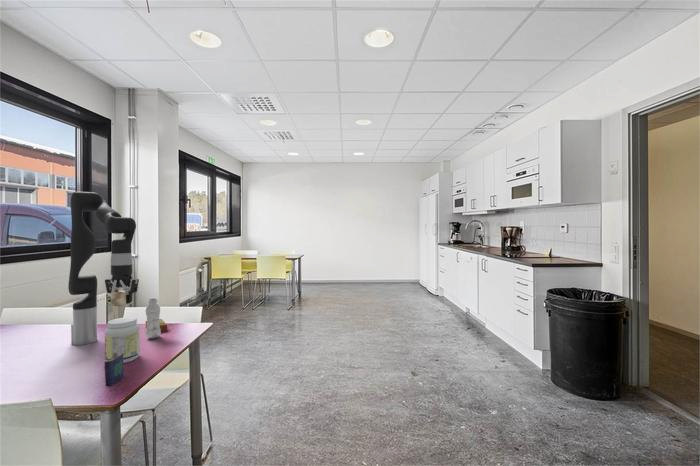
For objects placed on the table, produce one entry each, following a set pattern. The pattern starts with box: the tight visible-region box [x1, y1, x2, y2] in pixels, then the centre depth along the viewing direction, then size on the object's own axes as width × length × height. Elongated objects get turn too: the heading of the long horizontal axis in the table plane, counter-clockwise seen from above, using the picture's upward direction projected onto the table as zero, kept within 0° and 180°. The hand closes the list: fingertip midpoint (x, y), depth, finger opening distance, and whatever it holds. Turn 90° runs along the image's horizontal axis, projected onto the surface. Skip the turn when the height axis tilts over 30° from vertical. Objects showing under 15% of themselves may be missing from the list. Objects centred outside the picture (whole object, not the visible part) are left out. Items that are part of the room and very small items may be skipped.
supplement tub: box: [104, 316, 141, 364], centre depth 138 cm, size 12×12×17 cm
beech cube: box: [110, 290, 134, 307], centre depth 137 cm, size 6×6×6 cm
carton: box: [145, 318, 168, 333], centre depth 180 cm, size 8×16×4 cm, turn 40°
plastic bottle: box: [145, 298, 162, 340], centre depth 165 cm, size 6×7×20 cm
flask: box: [104, 352, 125, 387], centre depth 118 cm, size 9×3×11 cm, turn 8°
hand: (122, 302), depth 138 cm, fingers closed on beech cube, 5 cm apart
